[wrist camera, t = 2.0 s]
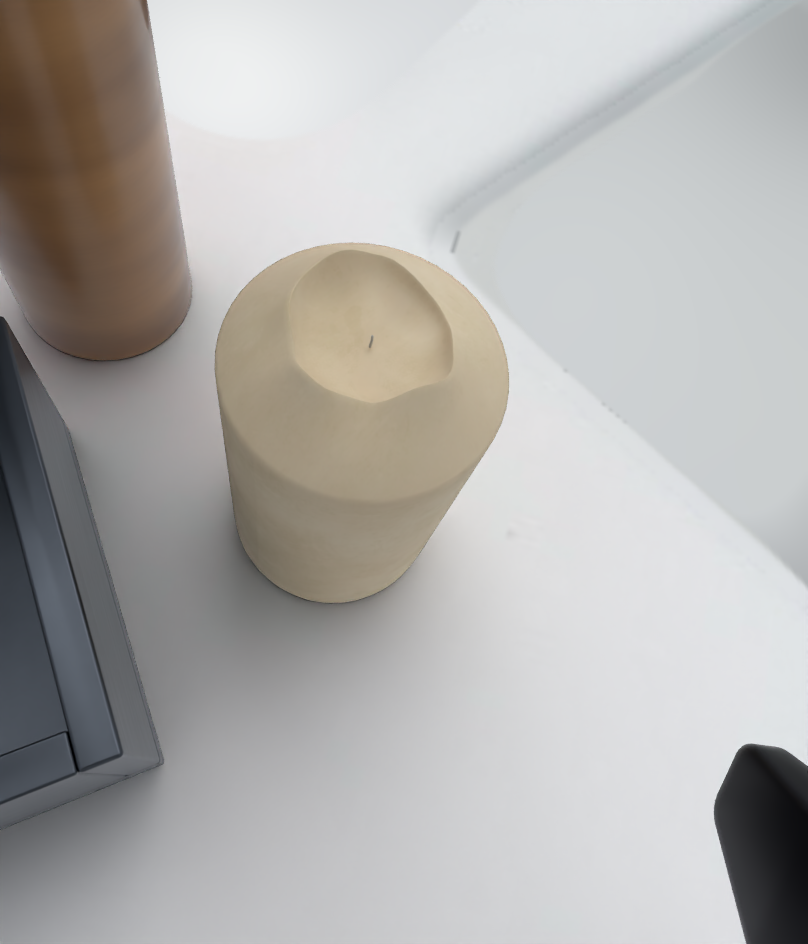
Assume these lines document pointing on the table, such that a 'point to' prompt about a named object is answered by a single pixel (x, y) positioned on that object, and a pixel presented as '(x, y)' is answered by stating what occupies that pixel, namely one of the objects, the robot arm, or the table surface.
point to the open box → (57, 618)
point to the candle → (352, 413)
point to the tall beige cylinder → (88, 178)
